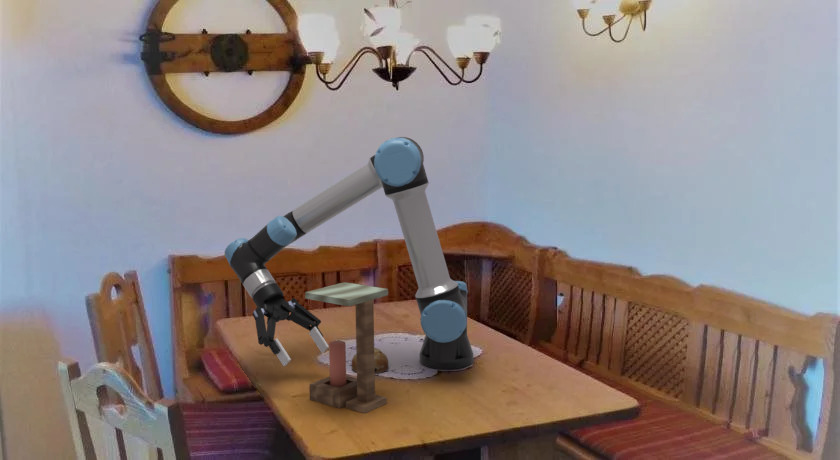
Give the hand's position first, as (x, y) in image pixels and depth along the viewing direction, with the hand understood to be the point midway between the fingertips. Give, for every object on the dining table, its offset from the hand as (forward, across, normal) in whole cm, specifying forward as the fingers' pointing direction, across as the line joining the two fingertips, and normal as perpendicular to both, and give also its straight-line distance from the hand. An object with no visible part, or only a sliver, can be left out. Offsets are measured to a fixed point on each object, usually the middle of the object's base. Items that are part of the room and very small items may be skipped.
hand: (307, 356), depth 202 cm
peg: (+14, 0, +1) cm, 14 cm away
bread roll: (+8, -22, -5) cm, 24 cm away
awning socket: (+16, 0, +4) cm, 17 cm away
